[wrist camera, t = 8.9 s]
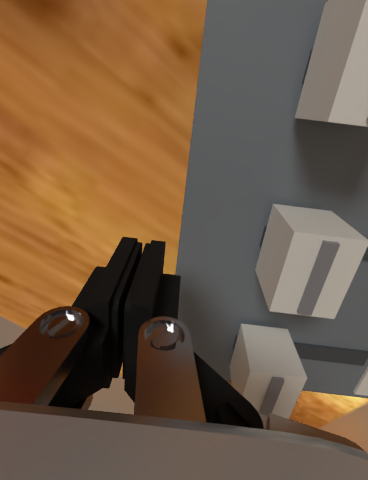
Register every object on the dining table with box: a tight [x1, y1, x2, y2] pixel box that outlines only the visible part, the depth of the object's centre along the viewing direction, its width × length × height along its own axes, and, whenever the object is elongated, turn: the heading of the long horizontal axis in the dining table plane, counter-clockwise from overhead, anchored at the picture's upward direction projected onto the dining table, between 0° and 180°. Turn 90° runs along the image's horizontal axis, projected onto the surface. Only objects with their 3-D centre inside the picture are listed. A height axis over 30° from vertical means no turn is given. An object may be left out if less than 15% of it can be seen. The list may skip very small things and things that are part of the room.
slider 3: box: [255, 204, 368, 319], centre depth 13 cm, size 3×4×4 cm
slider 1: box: [230, 324, 307, 419], centre depth 17 cm, size 3×4×4 cm
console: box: [175, 0, 368, 398], centre depth 17 cm, size 18×24×4 cm
